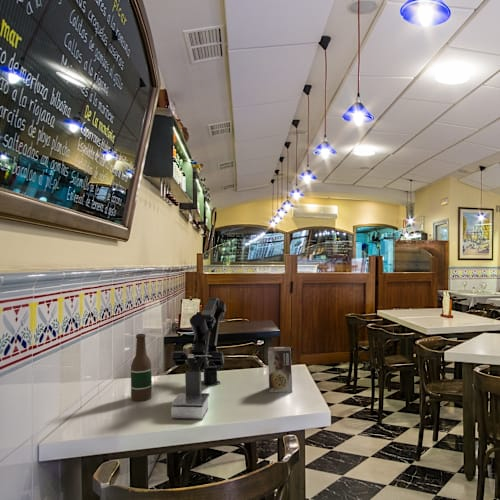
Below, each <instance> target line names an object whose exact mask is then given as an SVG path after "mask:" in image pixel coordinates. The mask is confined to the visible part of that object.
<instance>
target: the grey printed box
mask: <svg viewBox="0 0 500 500" xmlns="http://www.w3.org/2000/svg"><path fill="white" fill-rule="evenodd" d="M291 349H292V348H291V346H269V347H268V349H267V361H268V363H267V364H268V365H267V366H268V367H267V368H268V392H269V393H293V374H292V373H293V372H292V370H293V369H292V350H291Z"/></svg>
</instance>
